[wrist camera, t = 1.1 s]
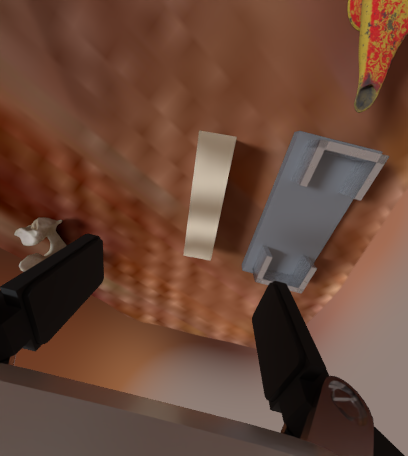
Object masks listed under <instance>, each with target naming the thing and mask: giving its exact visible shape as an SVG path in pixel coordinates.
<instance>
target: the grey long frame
mask: <svg viewBox="0 0 408 456" xmlns="http://www.w3.org/2000/svg"><path fill="white" fill-rule="evenodd" d="M323 152H324V153H328V154H332V155H336V156H340V157H344V158H348V159H352V160H356V163H355V165H354V166H353V168H352V170H351V172H350V173H349V175H348V177H347V179H346V180H345V182H344V184H343V186H342V187H341V189H340V191H339V193H340V194H343V195H345V196H348V197H351V198H353V199H357V200H362V198H363V197H364V195H365V194H366V192H367V190H368V189H369V187H370V186H371V184H372V183H373V181H374V180H375V178H376V176H377V175H378V173H379V172H380V170H381V169H382V167H383V166H384V164H385V162H386V161H387V159H388V158H389V156H386V155H382V154H378V153H374V152H370V151H366V150H363V149H359V148H355V147H351V146H347V145H343V144H339V143H335V142H331V141H327V140H323V139H318V140H308V142H307V145H306V147H305V149H304V152H303V154H302V156H301V158H300V161H299V163H298V165H297V168H296V170H295V172H294V174H293V177H292V179H291V181H292V182H294V183H296V184H298V185H301V186H305V187H307V185H308V183H309V181H310V179H311V177H312V175H313V173H314V171H315V169H316V167H317V165H318V163H319V161H320V159H321V157H322V154H323ZM272 258H273V257H272V255H271V253H270V251H269V248H268V246H264V245H262V248H261V250H260V252H259V255H258V257H257V259H256V261H255V264H254V266H253V268H252V271H253V275H254V279H255V282H258V283H262V284H266V285H269V283H271V282H272V283H273V281H279V282H283V283H286V284H287V286H288V288H289V290H290V291H294V292H298V293H302V292H303V290H304V289H305V287H306V285H307V284H308V282H309V281H310V279H311V278H312V276H313V275H314V273H315V271H316V270H317V268H316V266H315V265H314V264H313V263H312V261H311V260H310V259H309V257H308V256H304V255H303V256H302V257H301V259H300V261H299V263H298V264H297V266H296V268H295V270H294V271H293V273H292V275H290V274H286V273H282V272H278V271H274V270H270V269H267V268H268V266H269V264H270V262H271V260H272Z"/></svg>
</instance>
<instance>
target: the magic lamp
mask: <svg viewBox="0 0 408 456" xmlns="http://www.w3.org/2000/svg"><path fill="white" fill-rule="evenodd" d="M348 17H349V20H350V23H351V24H352V26H353V27H354V28H355V29H356V30H358V31H360V36H359V85H358V91H357V95H356V98H355V103H354V106H355V110H356V112H358V113H360V112H363V111H365V110H367V109H368V108H369V107H370V106H371V105H372V104H373V102H374V101H375V99H376V98H377V96H378V93H379V91H380V89H381V86H382V84H383V82H384V79H385V77H386V74H387V72H388V70H389V67H390V65H391V62H392V60H393V57H394V55H395V53H396V51H397V49H398V47H399V46H400V44H401V43H402V41H403V40H404V38H405V37H406V35H407V34H408V0H348Z"/></svg>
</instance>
